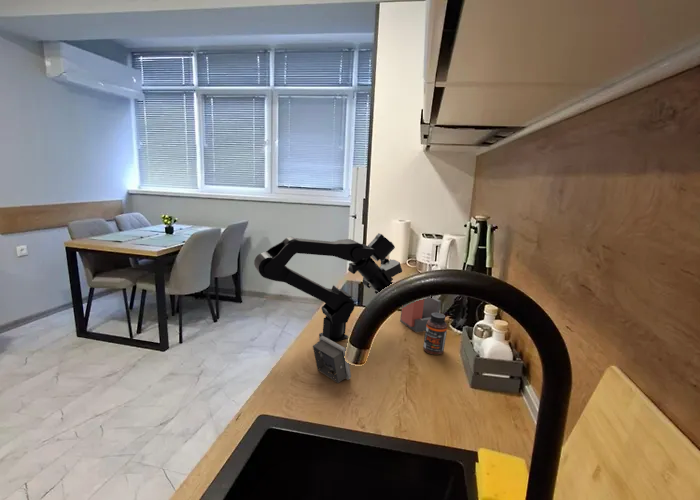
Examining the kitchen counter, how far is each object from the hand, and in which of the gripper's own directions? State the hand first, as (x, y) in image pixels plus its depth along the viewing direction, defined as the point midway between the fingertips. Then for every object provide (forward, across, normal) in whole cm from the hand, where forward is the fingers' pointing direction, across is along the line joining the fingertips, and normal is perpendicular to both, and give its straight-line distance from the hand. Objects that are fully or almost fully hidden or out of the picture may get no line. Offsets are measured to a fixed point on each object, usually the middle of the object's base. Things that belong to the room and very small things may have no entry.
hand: (397, 302), depth 124 cm
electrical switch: (-16, -20, +29) cm, 38 cm away
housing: (+13, 0, 0) cm, 13 cm away
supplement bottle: (+8, -17, +5) cm, 20 cm away
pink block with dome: (+10, 0, +1) cm, 10 cm away
